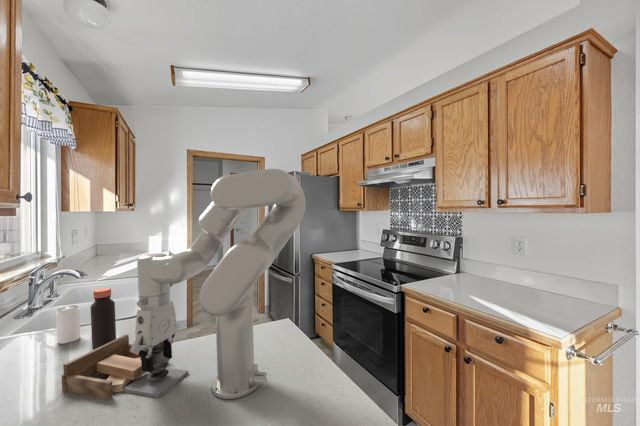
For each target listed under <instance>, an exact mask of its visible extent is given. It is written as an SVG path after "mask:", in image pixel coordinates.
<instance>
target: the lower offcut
mask: <svg viewBox="0 0 640 426" xmlns="http://www.w3.org/2000/svg"><path fill="white" fill-rule="evenodd" d="M135 359H140V360H141V357H140V358H135ZM106 380H109V381H112V391H113V393H118V392H124V388H125V387H127V386H128V385H129V384H128V383H129V382H130V381H131V379H127V378H123V377H118V376H114V375H110V374H109V376H108V378H106Z"/></svg>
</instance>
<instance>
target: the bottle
mask: <svg viewBox="0 0 640 426" xmlns="http://www.w3.org/2000/svg"><path fill="white" fill-rule="evenodd" d="M111 297H112V288H110V287H103V288H102V287H101V288H98V289H95V290H93V300H94V302H93V303H91V305H90V322H91V323H90V328H91V349H92V350H94V349H96V348H98V347H101V346H103V345H105V344H107V343H109V342H111V341H113V340H115V339H117V326H116V325H117V324H116V321H117V320H116V302H115V301H114V300H113V299H112V298H111Z"/></svg>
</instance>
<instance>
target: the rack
mask: <svg viewBox="0 0 640 426" xmlns="http://www.w3.org/2000/svg"><path fill="white" fill-rule="evenodd" d="M129 338H130V335H129V334H123V335H121V336H119V337H116V339H115V340H113V341H111V342H109V343H107V344H105V345H103V346H101V347H98V348H96V349H94V350H93V349H92V350H90V351H87V352H86V353H84V354H82V355H80V356H78V357H76V358H73V359H72V360H70V361H68V362H66V363H63V364H62V366H63V374H61V390H62V391H66V392H72V393H77V394H81V395H86V396H90V397H91V396H92V397H96V398H102V399H107V400H110V399H111V398H113V397H114V395H113V394H114V392H113V391H112V381H109V380H107V379H102V378H97V377H96V378H95V376H97V375H98V374H101V372H97V363H98V362H100V361H102V360H104V359H106V358H108V357H110V356H112V355H120V356H125V357H130V358H140V357H139V356H137V355H136V354H134V353H132V352H130V349H131V347H132V345H133V344H134V343H133V344H132V343H129V342H130V341H129V340H130V339H129ZM140 348H141V346H140ZM147 348H148V347H146V348H145V351H146V352H147Z"/></svg>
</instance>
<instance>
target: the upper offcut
mask: <svg viewBox="0 0 640 426" xmlns="http://www.w3.org/2000/svg"><path fill="white" fill-rule="evenodd" d="M97 372H100V374H101V373H102V374H106V375H109V376H110V375H114V376H118V377H123V378H127V379H130V381H131V380H133V381H136V380H137V379H139V378H140V377H142V376H143V375H144V374H146V373H147V372H145V371H142V365H141V360H140V359H135V358H130V357H125V356H120V355H112V356H110V357H108V358H106V359H104V360H102V361H100V362H98V363H97Z"/></svg>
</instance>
